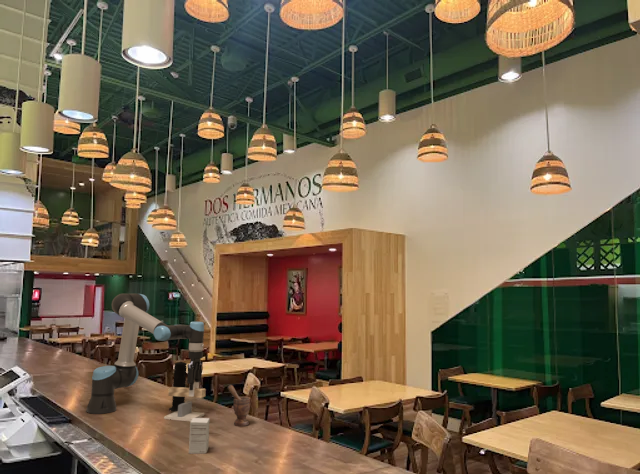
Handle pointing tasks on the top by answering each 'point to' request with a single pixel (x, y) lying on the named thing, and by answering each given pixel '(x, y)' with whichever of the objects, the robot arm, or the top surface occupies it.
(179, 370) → the handle grip
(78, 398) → the top surface
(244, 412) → the mortar and pestle
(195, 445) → the supplement box
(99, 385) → the robot arm
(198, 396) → the maple bar
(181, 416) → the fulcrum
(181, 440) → the top surface
